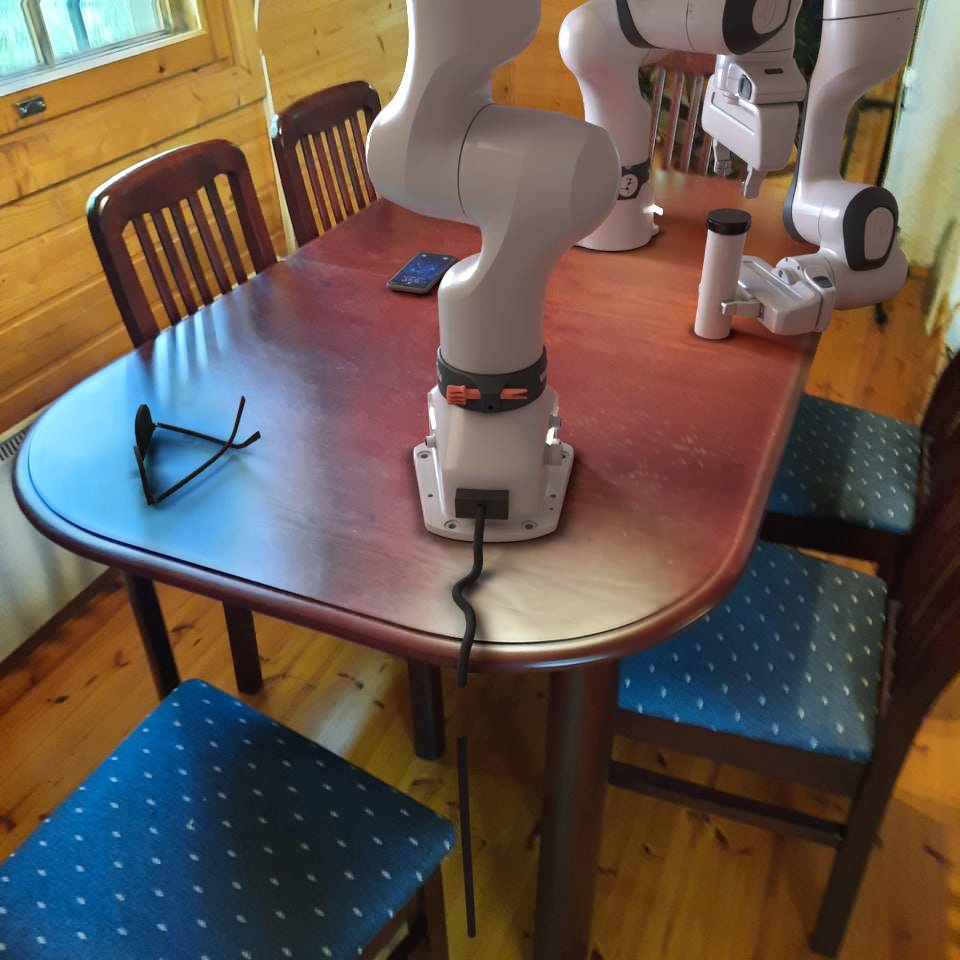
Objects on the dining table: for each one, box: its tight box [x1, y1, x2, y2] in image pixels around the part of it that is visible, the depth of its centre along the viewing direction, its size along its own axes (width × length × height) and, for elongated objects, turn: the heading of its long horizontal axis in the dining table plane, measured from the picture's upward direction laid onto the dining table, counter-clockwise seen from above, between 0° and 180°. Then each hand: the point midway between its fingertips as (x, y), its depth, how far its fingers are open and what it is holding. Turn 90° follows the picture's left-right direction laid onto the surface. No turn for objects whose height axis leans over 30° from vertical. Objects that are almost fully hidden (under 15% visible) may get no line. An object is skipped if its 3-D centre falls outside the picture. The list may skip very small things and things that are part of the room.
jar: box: [693, 228, 747, 340], centre depth 120 cm, size 5×5×17 cm
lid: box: [705, 207, 753, 235], centre depth 115 cm, size 6×6×2 cm
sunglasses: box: [132, 395, 262, 506], centre depth 100 cm, size 17×14×5 cm
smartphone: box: [386, 251, 457, 295], centre depth 143 cm, size 7×1×15 cm
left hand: (734, 185), depth 113 cm, fingers open, 8 cm apart
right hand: (711, 299), depth 122 cm, fingers closed on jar, 5 cm apart
